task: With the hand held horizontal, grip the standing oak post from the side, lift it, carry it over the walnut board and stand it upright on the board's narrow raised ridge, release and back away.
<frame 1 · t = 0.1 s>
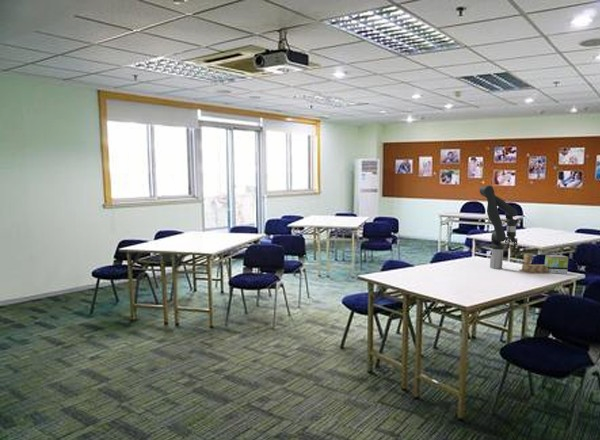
hand: (511, 249, 410), 17 cm above the table, tool pointing down, fingers open, 8 cm apart
tea box: (555, 272, 396), on the table
post: (526, 269, 405), on the table
ridge board: (534, 272, 394), on the table
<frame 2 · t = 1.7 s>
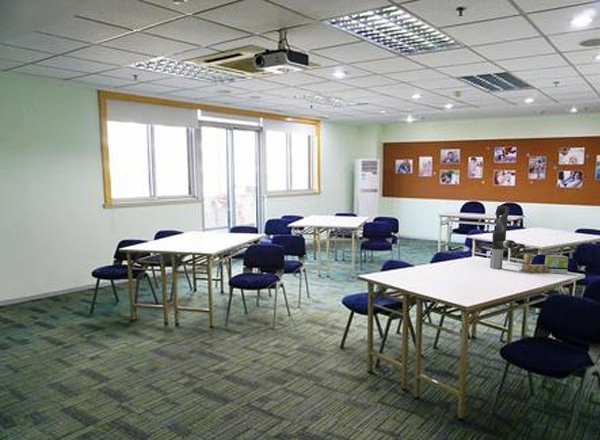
hand: (520, 246, 414), 20 cm above the table, tool horizontal, fingers open, 8 cm apart
nothing on the table moved.
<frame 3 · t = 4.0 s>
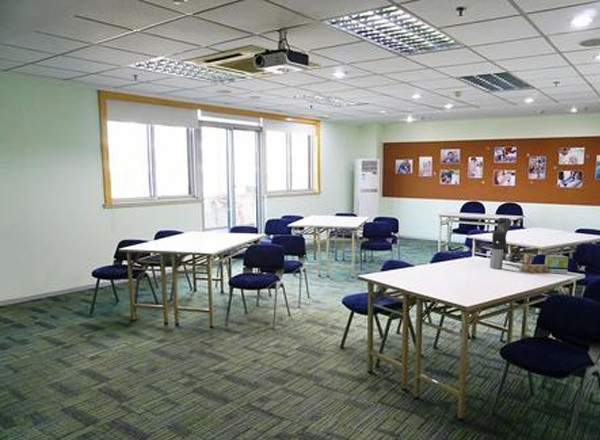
hand: (523, 260, 410), 8 cm above the table, tool horizontal, fingers open, 8 cm apart
nothing on the table moved.
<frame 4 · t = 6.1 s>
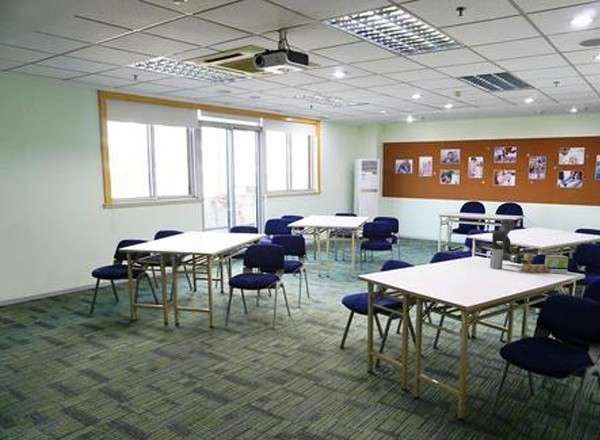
hand: (529, 261, 402), 8 cm above the table, tool horizontal, fingers closed on post, 4 cm apart
post: (526, 269, 405), on the table, touching gripper
everything else where it was.
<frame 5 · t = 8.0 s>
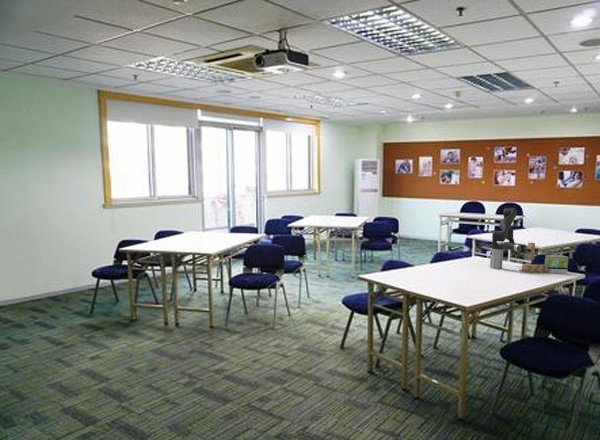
hand: (533, 250, 397), 18 cm above the table, tool horizontal, fingers closed on post, 4 cm apart
post: (530, 258, 400), point 10 cm above the table, touching gripper
everything else where it was.
when the fingers open (14 cm above the table, at t = 9.9 s): post stays where it is, resting on ridge board.
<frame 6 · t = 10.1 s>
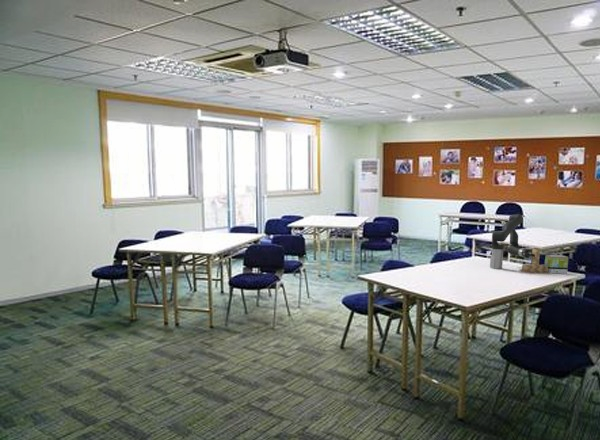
hand: (537, 255, 391), 15 cm above the table, tool horizontal, fingers open, 5 cm apart
post: (535, 265, 394), point 6 cm above the table, touching ridge board
everything else where it was.
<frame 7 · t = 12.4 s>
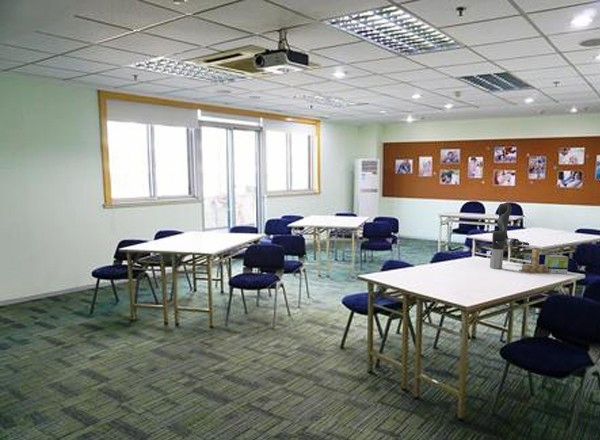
hand: (524, 244, 409), 22 cm above the table, tool horizontal, fingers open, 8 cm apart
nothing on the table moved.
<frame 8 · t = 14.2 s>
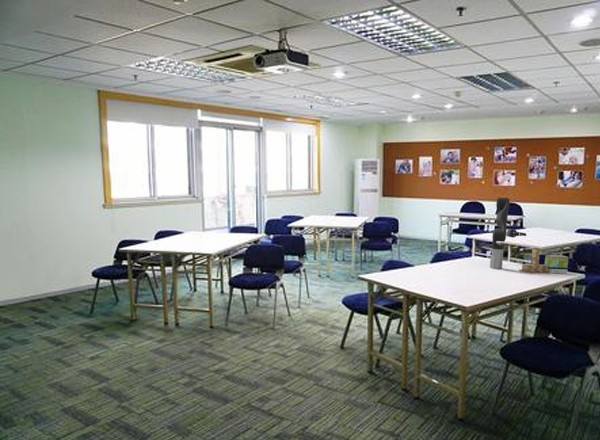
hand: (521, 234, 414), 30 cm above the table, tool horizontal, fingers open, 8 cm apart
nothing on the table moved.
at the end: post inside the target area on the ridge board (0.1 cm from its centre), point 6.0 cm above the ridge board's base; post tilted 0°; the gripper is holding nothing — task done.
